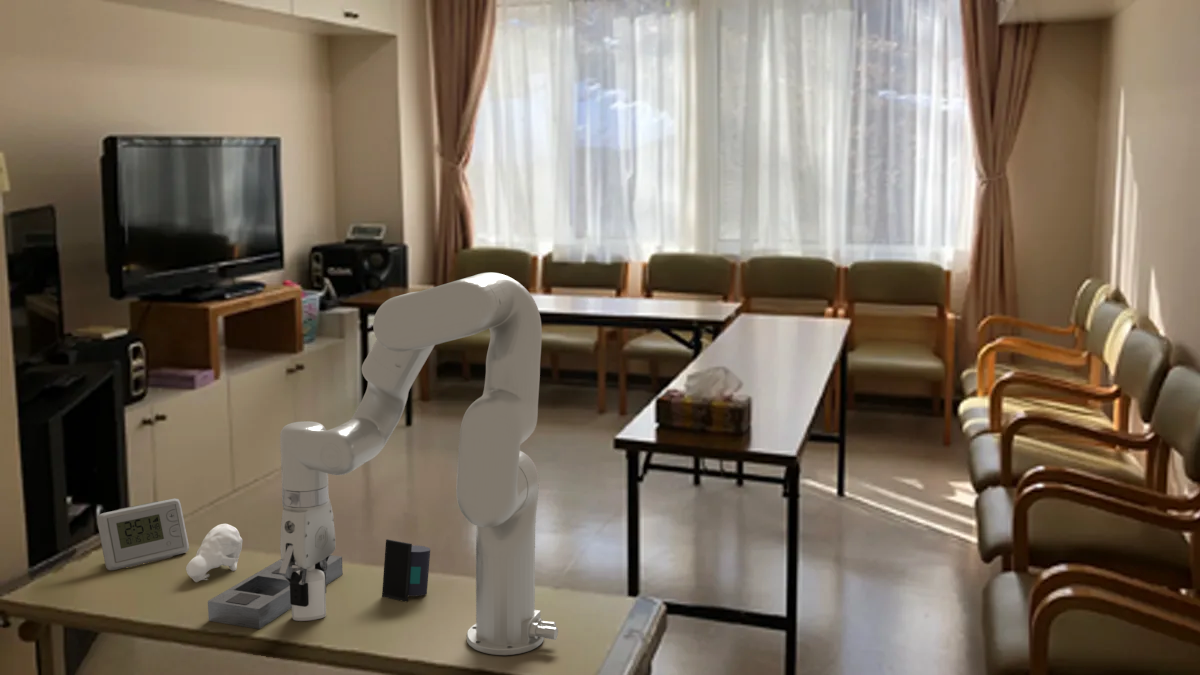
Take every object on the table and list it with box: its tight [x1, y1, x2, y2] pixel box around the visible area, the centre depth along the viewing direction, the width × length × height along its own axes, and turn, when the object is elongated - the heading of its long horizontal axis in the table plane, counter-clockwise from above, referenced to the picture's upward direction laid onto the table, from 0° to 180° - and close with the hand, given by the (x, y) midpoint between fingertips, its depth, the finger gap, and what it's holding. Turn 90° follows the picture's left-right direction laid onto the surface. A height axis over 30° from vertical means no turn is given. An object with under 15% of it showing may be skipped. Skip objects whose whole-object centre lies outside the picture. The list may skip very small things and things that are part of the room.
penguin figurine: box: [185, 523, 244, 583], centre depth 203 cm, size 6×8×12 cm
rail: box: [207, 554, 343, 630], centre depth 193 cm, size 10×26×4 cm, turn 162°
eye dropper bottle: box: [291, 565, 327, 622], centre depth 184 cm, size 4×6×12 cm
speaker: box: [381, 539, 431, 602], centre depth 194 cm, size 8×6×10 cm
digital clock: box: [96, 498, 190, 571], centre depth 210 cm, size 16×9×11 cm, turn 123°
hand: (308, 598), depth 184 cm, fingers closed on eye dropper bottle, 4 cm apart
